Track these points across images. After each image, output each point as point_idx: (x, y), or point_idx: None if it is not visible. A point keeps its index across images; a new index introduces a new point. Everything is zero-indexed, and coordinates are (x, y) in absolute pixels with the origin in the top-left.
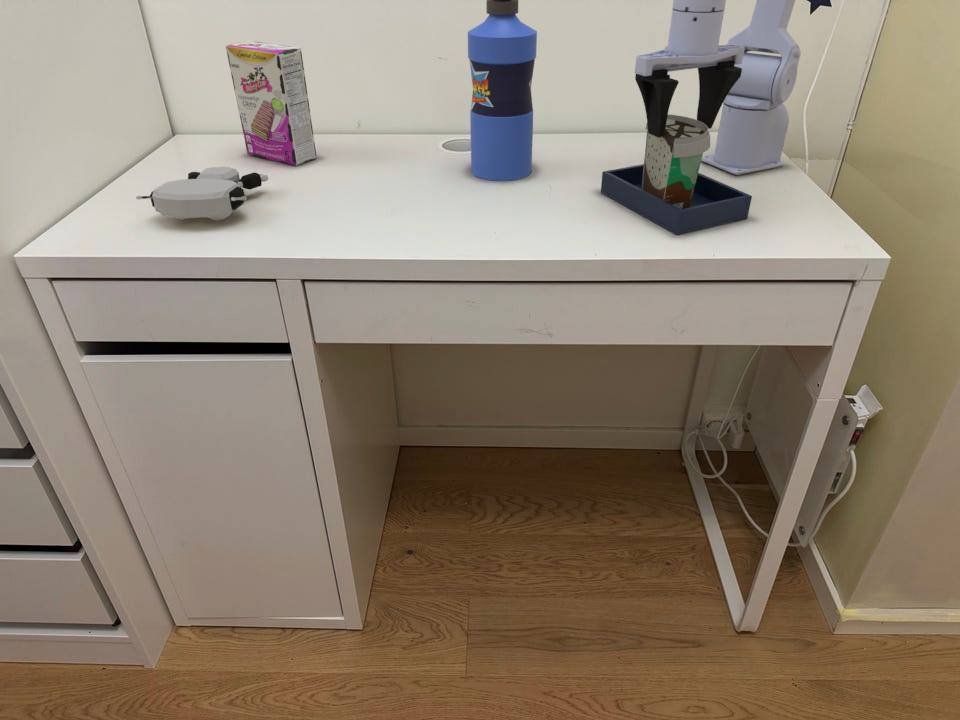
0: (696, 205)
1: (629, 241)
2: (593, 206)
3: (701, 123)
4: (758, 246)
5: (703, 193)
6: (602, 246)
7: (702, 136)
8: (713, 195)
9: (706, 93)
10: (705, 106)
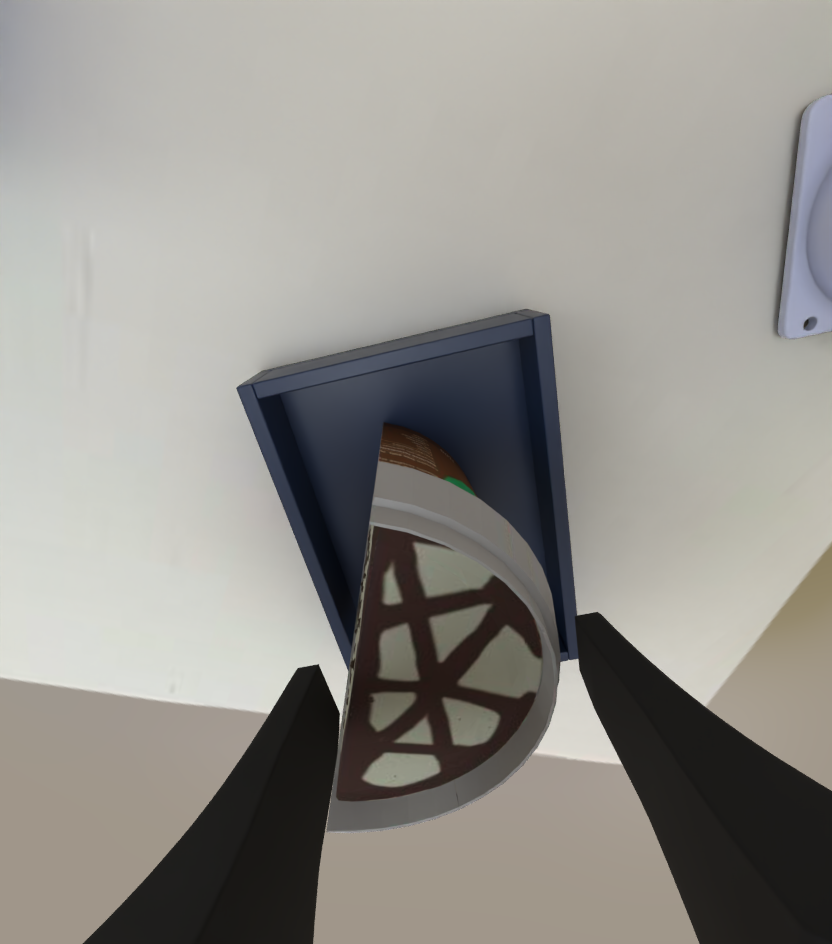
0: None
1: (255, 656)
2: (215, 468)
3: (550, 697)
4: None
5: (540, 504)
6: (192, 664)
7: (456, 800)
8: (546, 541)
9: (665, 786)
10: (624, 721)
